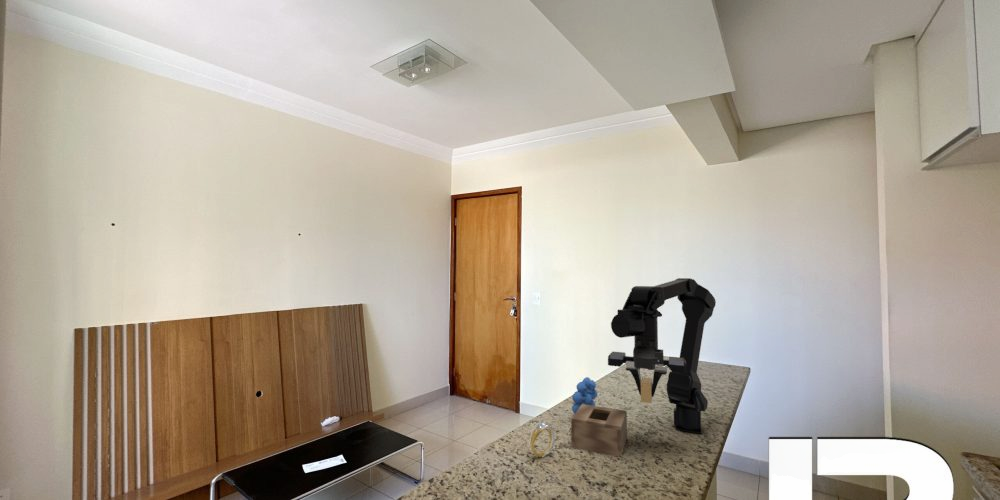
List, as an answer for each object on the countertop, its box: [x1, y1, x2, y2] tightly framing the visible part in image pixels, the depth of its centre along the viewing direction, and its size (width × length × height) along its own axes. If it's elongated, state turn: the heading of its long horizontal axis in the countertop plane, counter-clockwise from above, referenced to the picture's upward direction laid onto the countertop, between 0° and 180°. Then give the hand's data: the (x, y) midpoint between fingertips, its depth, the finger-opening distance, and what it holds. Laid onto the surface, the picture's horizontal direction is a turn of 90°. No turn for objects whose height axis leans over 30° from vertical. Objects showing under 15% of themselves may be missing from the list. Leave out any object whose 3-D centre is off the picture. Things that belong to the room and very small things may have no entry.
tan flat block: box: [640, 376, 654, 404], centre depth 99 cm, size 2×5×5 cm, turn 156°
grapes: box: [571, 376, 598, 415], centre depth 117 cm, size 12×7×12 cm, turn 134°
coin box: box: [570, 404, 628, 458], centre depth 100 cm, size 12×12×7 cm
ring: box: [528, 420, 556, 458], centre depth 92 cm, size 7×3×8 cm, turn 118°
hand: (646, 395), depth 99 cm, fingers closed on tan flat block, 2 cm apart
